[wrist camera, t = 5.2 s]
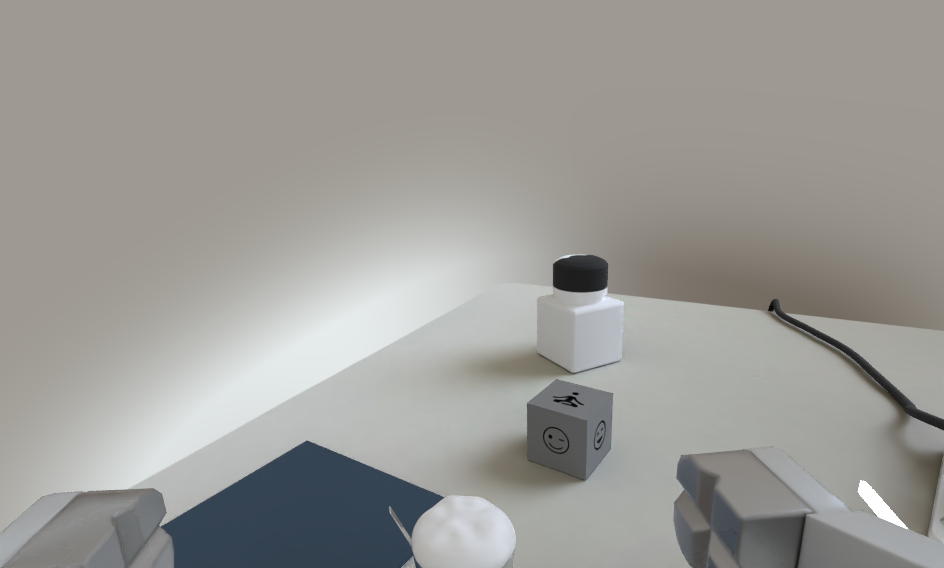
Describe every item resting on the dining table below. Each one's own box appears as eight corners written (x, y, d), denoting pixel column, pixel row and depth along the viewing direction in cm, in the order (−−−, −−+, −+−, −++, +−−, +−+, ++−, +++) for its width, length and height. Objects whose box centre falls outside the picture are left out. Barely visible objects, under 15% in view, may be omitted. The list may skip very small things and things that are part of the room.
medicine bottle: (622, 361, 60) (627, 258, 57) (572, 374, 57) (574, 267, 54) (583, 341, 66) (585, 248, 63) (536, 353, 63) (535, 255, 60)
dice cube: (527, 459, 42) (527, 403, 41) (555, 431, 46) (556, 379, 45) (585, 480, 39) (587, 420, 38) (610, 448, 43) (612, 393, 42)
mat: (307, 444, 45) (307, 440, 45) (459, 507, 37) (459, 503, 37) (21, 615, 29) (19, 609, 29) (172, 799, 21) (170, 792, 21)
